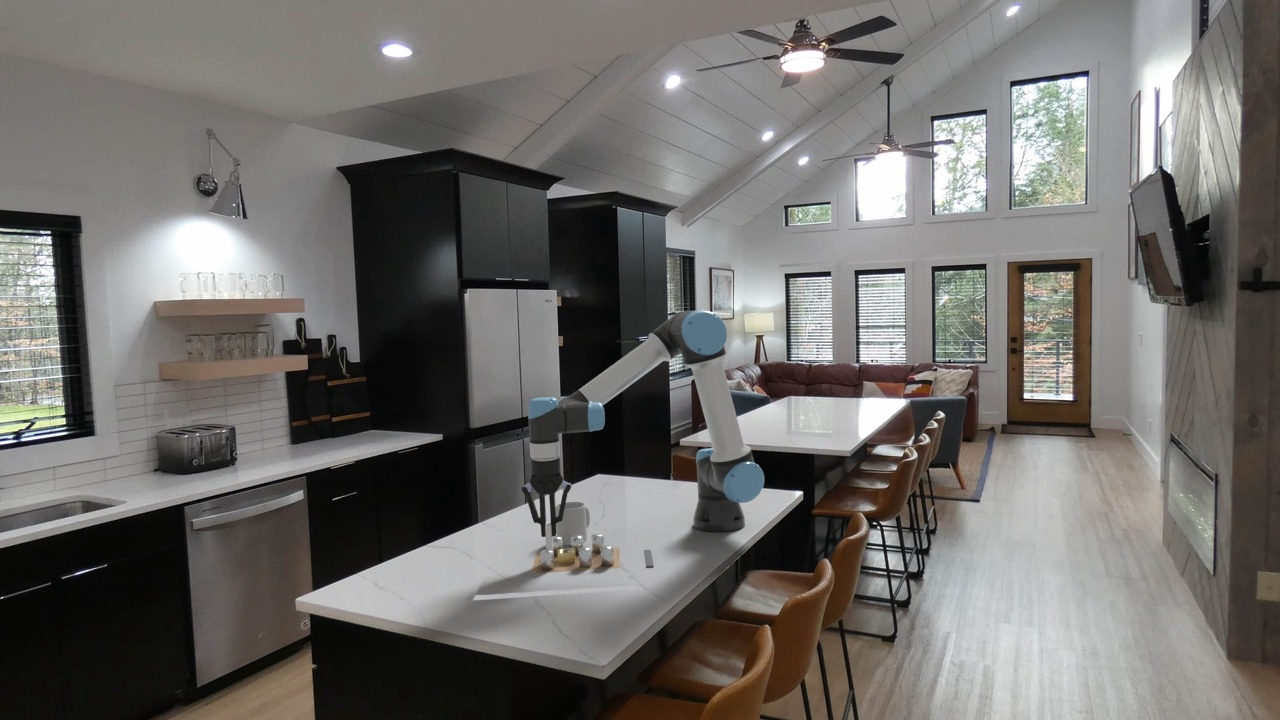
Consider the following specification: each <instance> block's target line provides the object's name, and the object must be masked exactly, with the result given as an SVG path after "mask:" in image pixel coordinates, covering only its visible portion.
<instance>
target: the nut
mask: <svg viewBox="0 0 1280 720" xmlns="http://www.w3.org/2000/svg"><path fill="white" fill-rule="evenodd" d="M557 555H558V564H569V563H575V562H576V548H563V549H559V550H558V554H557Z"/></svg>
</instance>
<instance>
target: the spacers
mask: <svg viewBox="0 0 1280 720" xmlns="http://www.w3.org/2000/svg"><path fill="white" fill-rule="evenodd" d="M552 537H553V549H545V548H544V549H542V550H540V553H541V567H542V570H543V571H550V570H553V569H554V556H558V555H557V554H558V550H559V549H564V548H563V546H564V545H563V544H562V537H561V536H557V535H556V536H552ZM570 546H571V548H576V555H579V566H580V568H590V567H592V553H594V554H600V553H601V566H603V567H611V566H613V565H614V554H613V548H614V546H613V545H608V544H606V545H605V538H604V534H603V533H593V534H591V546H584V543H583V536H582V535H573V536H571V545H570ZM571 548H570V549H571ZM591 549H592V553H591Z"/></svg>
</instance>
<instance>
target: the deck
mask: <svg viewBox="0 0 1280 720" xmlns="http://www.w3.org/2000/svg"><path fill="white" fill-rule="evenodd" d="M591 553H592V548H591ZM613 554H614V565H613V566H611V567H603V566H601V553H600V554H594V553H592V567H590V568H580V566H579V555H576V562H575V563H569V564H558V556H554V569H553V570H550V571H543V570H542V567H541V552H537V553H536V555H535V559H534V562H533V566H532V569H531V571H530V574H543V573H557V572H570V571H571V572H573V571H588V570H602V569H616V568H619V569H620V568H621V567H620V566H621V565H620V547H613Z"/></svg>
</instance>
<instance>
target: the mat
mask: <svg viewBox="0 0 1280 720" xmlns="http://www.w3.org/2000/svg"><path fill="white" fill-rule="evenodd" d="M643 556H644V557H643V558H644V562H645V568H654V566H655V565H654V561H653V559H654V558H653V554H652V550H651V549H643Z"/></svg>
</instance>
